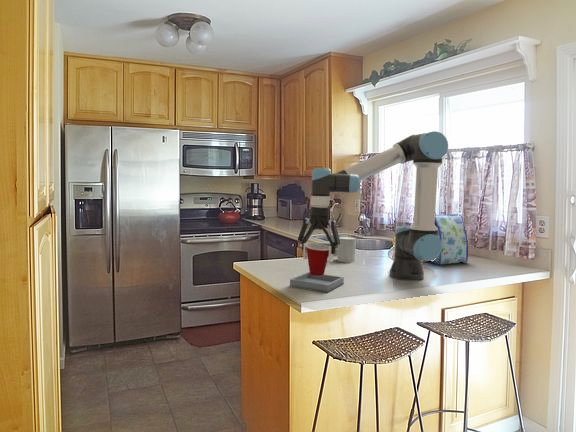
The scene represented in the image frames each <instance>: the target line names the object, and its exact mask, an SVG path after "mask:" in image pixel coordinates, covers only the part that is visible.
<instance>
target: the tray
mask: <svg viewBox="0 0 576 432" xmlns="http://www.w3.org/2000/svg"><path fill="white" fill-rule="evenodd" d="M344 284H345V277H343V276H338V275H331V274H325V273H324V275H321V276H315V275H311V274H310V271H308V272H304V273H302V274H300V275H297V276H296V277H292V278H290V279H289V287H290V288H296V289H302V290H308V291H314V292H320V293H327V294H328V293H330V292H332V291H334V290H336V289H338V288H339V287H341V286H343V285H344Z"/></svg>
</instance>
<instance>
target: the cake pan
mask: <svg viewBox="0 0 576 432" xmlns="http://www.w3.org/2000/svg"><path fill="white" fill-rule="evenodd" d="M307 243H308V244H322V245H327V246H331V244H330V243H329V242H328V243H325V242H307ZM299 247H300V248H301V253H302V254H303V252H304V251H303V250H302V243H300V244H299ZM336 256H338V245H336V248H335V254H333V257H336ZM328 257H329V255H328Z"/></svg>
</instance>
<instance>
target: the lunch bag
mask: <svg viewBox="0 0 576 432" xmlns="http://www.w3.org/2000/svg"><path fill="white" fill-rule="evenodd" d="M435 226H436V227H437V228H438V237H439V239H440V240H441V242H442V250H441V252H440V254H439V256H437V257H436V259H435V260H434V261H433V262H432V263H434V264H435V265H450V264H452V263H453V264H461V263H460V262H464V263H468V260H469V241H468V235H467V231H466V226H465V222H464V218H463V216H462V215H460V214H455V213H452V214H435Z"/></svg>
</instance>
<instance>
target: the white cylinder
mask: <svg viewBox="0 0 576 432" xmlns="http://www.w3.org/2000/svg"><path fill="white" fill-rule="evenodd" d="M339 240H340V244H339V245H338V255H336V256H337V261H338V262H340V263H355V262H356V245H357V244H356V243H357V238H356V237H353V236H339Z"/></svg>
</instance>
